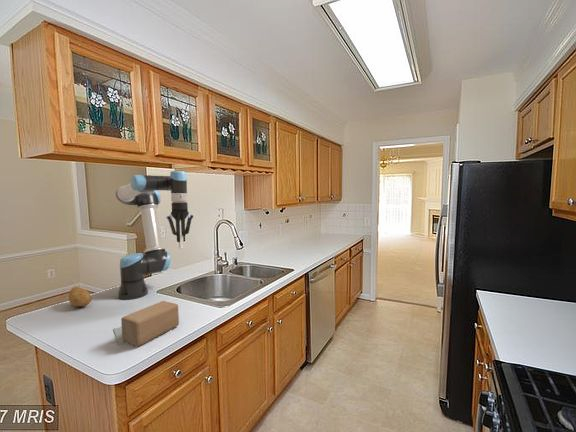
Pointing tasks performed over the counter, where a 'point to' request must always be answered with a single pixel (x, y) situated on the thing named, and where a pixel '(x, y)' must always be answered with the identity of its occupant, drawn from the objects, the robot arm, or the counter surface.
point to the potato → (79, 297)
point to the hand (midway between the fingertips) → (181, 248)
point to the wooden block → (149, 322)
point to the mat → (120, 335)
